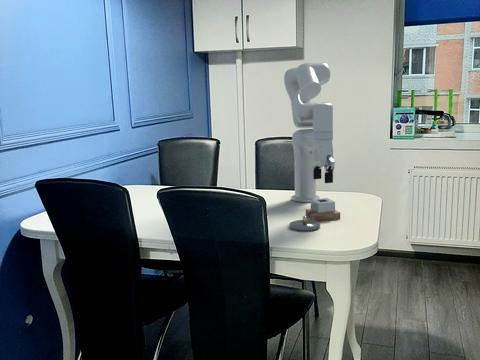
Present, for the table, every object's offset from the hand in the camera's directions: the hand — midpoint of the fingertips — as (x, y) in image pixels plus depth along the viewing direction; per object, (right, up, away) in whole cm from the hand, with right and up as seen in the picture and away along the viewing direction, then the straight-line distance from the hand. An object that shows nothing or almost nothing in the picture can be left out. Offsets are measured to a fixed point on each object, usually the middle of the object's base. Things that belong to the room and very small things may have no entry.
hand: (323, 180), depth 184 cm
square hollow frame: (0, -12, +3) cm, 12 cm away
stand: (0, -14, +3) cm, 14 cm away
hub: (-8, -17, -9) cm, 21 cm away
